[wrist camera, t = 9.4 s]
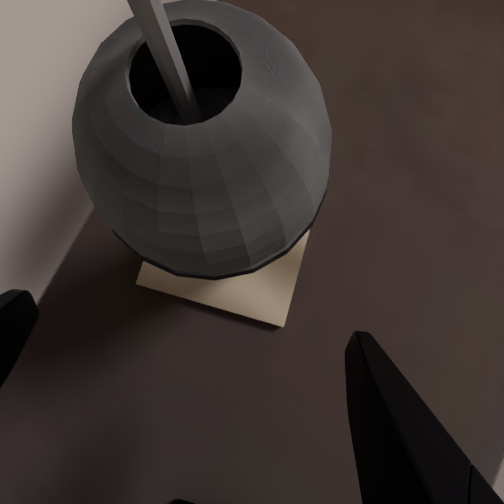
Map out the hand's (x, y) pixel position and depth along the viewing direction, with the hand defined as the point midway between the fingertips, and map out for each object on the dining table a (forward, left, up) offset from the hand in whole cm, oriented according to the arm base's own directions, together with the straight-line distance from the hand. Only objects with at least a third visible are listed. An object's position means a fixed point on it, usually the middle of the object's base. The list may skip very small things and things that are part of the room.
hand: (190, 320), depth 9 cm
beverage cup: (+5, +1, -12) cm, 13 cm away
